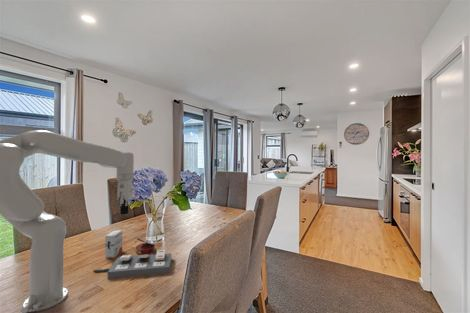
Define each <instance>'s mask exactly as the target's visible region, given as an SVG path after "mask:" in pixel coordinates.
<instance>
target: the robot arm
mask: <svg viewBox="0 0 470 313" xmlns="http://www.w3.org/2000/svg"><path fill="white" fill-rule="evenodd" d="M35 154H43V155H47V156H51V157H55V158H61V159H66V160H70V161H73V162H80V163H92V164H97V165H99V166H101V167H103V168H108V169H109V168H112V169H116V175H115V178H116V181H117V194H116V196H117V197H116V198H117V201H118V202H119V204H120V215H127V214H128V213H129V202H130V200H131V199H132V198H133V197H134V195H133V194H134V193H133V191H134V190H133V180H134V168H135V167H134V161H135V160H134V159H135V158H134V153H133V152H124V151H119V150H116V149H114V148H110V147H106V146H103V145H98V144H95V143H91V142H86V141H83V140H80V139H76V138H73V137H69V136H66V135H63V134H60V133H57V132H52V131H49V130H44V129H39V130H29V131H26V132H23V133H19V134H17V135H14V136H10V137H7V138H4V139H1V140H0V216H1V217H2V218H3V219H4V220H6V221H7V222H8V223H9V224H10V226H12V227H14V228H15V229H16V230H17V231H18V232H19V233H21V234H22V235H24V236H25V237H27V238H30V239H31V241H32V243H31V247H30V252H29V262H28V263H29V271H28V272H29V278H28V279H29V280H28V281H29V282H28V284H29V285H28V287H29V288H28V297H27V299H25V300H24V302H23V303H22V308H21V310H20V312H21V313H28V312H29V313H35V311H36V312H40V311H44V310H48V309H50V308H52V307H54V306H57V305H59V304H60V303H61V302H63V301H64V300H65V299H66V298H67V297H68V293H69V290H68V288H66V287H64V245H65V237H66V233H67V224H66V223H67V222H65V220H64V219H63V218H62V217H60V216H58V215H55V214H52V213H47V212H46V211H45V204H44V201H43V200H42V198H40V196H38V195H37V194H36V193H35V191H33V190H32V189H31V187H29V185H27V183H26V182H25V180H23V179H22V177H21V175H20V169H21V167H22V165H23V163H24V161H25V159H26V158H28V157H30V156H33V155H35Z"/></svg>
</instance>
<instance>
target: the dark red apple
mask: <svg viewBox="0 0 470 313" xmlns="http://www.w3.org/2000/svg"><path fill="white" fill-rule="evenodd" d="M136 240H137V241H138V242H142V243H140V244H138V245H137V246H136V247H135V254H136V255H137V256H138V255H146V254H149V255H152V254H153V253H154V252H155V250H156V249H155V247H156V245H155V243H154V242H148V241H145V240H142V239H141V238H138V237H137V238H136Z"/></svg>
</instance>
